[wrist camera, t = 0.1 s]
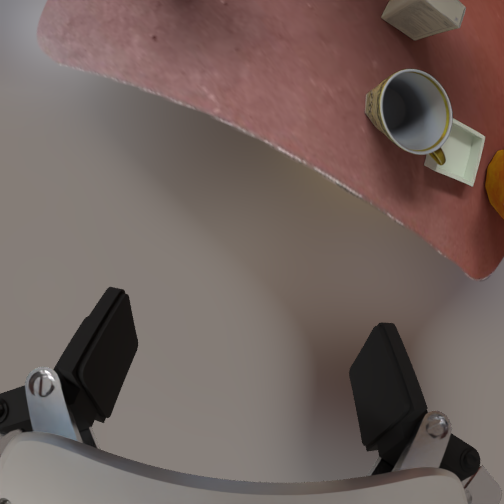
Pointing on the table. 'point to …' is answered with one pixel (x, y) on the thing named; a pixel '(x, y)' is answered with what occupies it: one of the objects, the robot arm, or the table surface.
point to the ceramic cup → (412, 112)
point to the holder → (460, 154)
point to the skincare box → (424, 16)
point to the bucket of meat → (496, 182)
